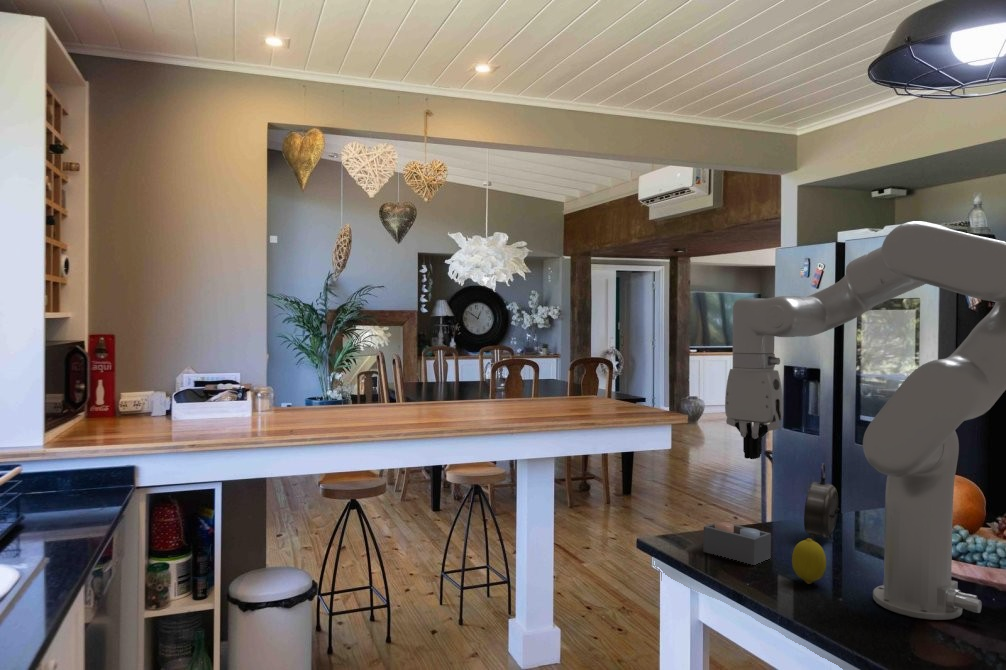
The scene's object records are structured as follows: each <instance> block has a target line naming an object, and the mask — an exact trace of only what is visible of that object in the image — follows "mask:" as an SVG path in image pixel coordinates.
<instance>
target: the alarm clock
mask: <svg viewBox="0 0 1006 670" xmlns="http://www.w3.org/2000/svg"><path fill="white" fill-rule="evenodd" d="M820 467H821V471H820V475H821V477H820V482H817V481H813V482H812V483H811V484H810V486H809V487H808V489H807V493H806V499H805V504H804V513H803V515H804V516H803V526H804V527H803V528H804V531H805V533H806V534H807V535H810V536H811V537H810V539H812V540H813V541H815V539H816V537H820V538H824V539H826V538H829V539H830V541H831V542H832V543H834V542H835V541H834V539H833V537H832V535H833V532H834V530H835V528H836V524H837V518H838V514H839V513H838V512H839V511H840V508H839V495H838V491H837V488H836V487H835V486H834V485H833V484H829V483H826V464H825V463H823V462H822V463H821V466H820Z"/></svg>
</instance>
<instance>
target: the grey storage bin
mask: <svg viewBox="0 0 1006 670" xmlns="http://www.w3.org/2000/svg"><path fill="white" fill-rule="evenodd" d="M719 522H723V521H722V520H720V521H719ZM715 523H716V522H715ZM715 523H710V524H707V525H705V526H703V553H707V554H710V555H713V554H714V556H717V555H718V557H720V556H722V557H721V558H724V557H726V558H725V559H727V558H729V559H728V560H731V559H733V560H732V561H734V560H737V561H736V562H738V561H740V562H739V563H741V562H744V563H743V564H745V563H747V564H746V565H748V564H751V565H750V566H752V565H756V564H758V563H760V564H762V563H761V562H763V561H765V560H768V559H770V558H772V557H771V556H772V533H771V532H766V531H763V530H759V531H760V536H759V537H756V538H752V537H748V536H744V535H740V529H742V528H748V527H746V526H742V525H738V524H735V523H732V524H733V525H734V533H732V532H728V531H724V530H720V529H716V528H715ZM770 560H771V559H770ZM768 561H769V560H768ZM765 562H766V561H765ZM763 563H764V562H763ZM758 565H759V564H758ZM756 566H757V565H756Z"/></svg>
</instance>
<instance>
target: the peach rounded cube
mask: <svg viewBox="0 0 1006 670" xmlns="http://www.w3.org/2000/svg"><path fill="white" fill-rule="evenodd" d="M733 524H734V523H732V522H727V521H722V522H720V521H716V522H715V528H716V529H720V530H724V531H728V532H732V533H734V525H735V524H734V525H733Z"/></svg>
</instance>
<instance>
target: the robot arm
mask: <svg viewBox="0 0 1006 670" xmlns="http://www.w3.org/2000/svg"><path fill="white" fill-rule="evenodd" d="M924 285H929V286H932V287H936V288H941V289H943V290H946V291H949V292H954V293H955V294H956V293H957V294H960V295H963V296H967V297H970V298H974V299H978V300H982V301H988V302H995V303H994V306H993V307H992V309H991V310H990V311H989V312H988V313H987V314H986V316H984V318H982V319H981V320H980V321H979V322H978V323H977V324H976V325H975V327H973V329H971V331H970V333H969V334H968V336H966V338H965V339H964V340H963V341H962V342H961V344H959V346H958V347H957V348H956V349H955V350H954V351H953V352H952V353H951V354H950V355H949V356H948V357H946V358H940V359H934V360H930V361H928V362H926V363H923V364H922V365H920V366H918V367H917V368H916V369H915V370H913V371H912V372H911V373H910V374H909V375H908V376H907V377H906V378H905V379H904V380H903V382H902V383H901V384H900V385H899V386H898V388H897V389H896V391H894V393H893V394H892V396H890V398H889V399H888V400H887V401H886V403H885V404H884V405H883V406H882V408H880V410H879V412H877V414H876V415H875V416H874V417H873V419H872V420H871V422H870V423H869V424H868V426H867V427H866V430H865V432H864V434H863V438H862V450H863V453H864V457H865V458H866V460H867V462H868V463H869V465H870V466H871V467H872V468H874V469H875V470H876V471H877V472H879V473H880V474H883V475H886V477H887V478H886V485H885V493H884V494H885V495H884V496H885V497H884V498H885V499H884V540H883V541H884V546H883V547H884V549H883V550H884V551H883V556H884V558H883V584H882V585H879V586H877V587H874V589H873V590H872V599H873V601H874V602H875V603H876V604H878V605H879V606H880V607H882V608H884V609H886V610H888V611H891V612H894V613H896V614H899V615H902V616H906V617H911V618H916V619H922V620H930V621H945V620H953V619H956V618H959V617H961V615H962V614H963V609H965V610H967V611H969V612H972V613H978V614H980V613H981V611H982V608H983V607H982V606H983V605H982V604H983V603H982V601H981V600H980V599H978V595H975V594H971V593H965V592H962V591H961V590H960V589H959V588H958V587H959V586H958V584H959V583H958V581H956V580H952V566H953V565H952V564H953V563H952V561H953V560H952V559H953V558H952V557H953V517H954V516H953V515H954V493H955V492H954V489H955V479H956V473H957V467H958V466H957V465H958V460H959V455H960V454H959V453H960V452H959V451H960V443H959V437H958V434H957V431H956V430H957V429H958V428H959V427H960V426H961V424H962V423H963V422H964V421H969V420H973V419H976V418H978V417H981V416H983V415H985V414H986V413H987V412H989V410H991V408H992V407H993V406H994V405H995V403H996V402H997V401H998V400H999V399H1000V397H1001V396H1002V395H1003V393H1005V391H1006V241H1004V240H998V239H994V238H991V237H990V238H989V237H985V236H979V235H977V234H976V235H975V234H971V233H969V232H968V233H966V232H963V231H960V230H959V231H957V230H954V229H951V228H949V227H947V226H945V225H941V224H937V223H932V222H929V221H928V222H927V221H920V220H916V221H915V220H913V221H907V222H904V223H901V224H900V225H898V226H896V227H895V228H893V229H892V230H890V231H889V233H888V234H887V235H886V237H885V238H884V240H883V242H882V245H881V246H879V247H878V248H876V249H874V250H872V251H869V252H868V253H866V254H864V255H861V256H859V257H857V258H854V259H853V260H850V262H849V263H848V264H847V265H846V267H845V275H844V276H843V277H842V278H841V279H840V280H839V281H837V282H836V283H833V284H832V285H829V286H827V287H826V288H823V289H822V290H820V291H817V292H815V293H812V294H810V295H808V296H801V295H800V296H798V295H793V296H791V295H780V296H779V295H778V296H774V297H769V298H761V297H760V298H758V297H757V298H756V297H754V298H752V297H751V298H739V299H736V300H735V302H733V305H732V368H730V369H729V372H728V376H727V380H726V389H725V400H724V403H725V404H724V410H725V416H726V421H725V422H726V425H729V426H731V427H735V428H736V429H737V431H738V432H739V433H740V436H741V437H742V440H743V441H742V442H743V443H742V444H743V446H742V447H743V455H744V459H750V460H756V459H760V458H761V456H762V453H763V438H764V437H765V436H766V434H767V433H769V431H777V430H780V429H781V427H782V426H781V423H780V422H781V421H782V420H783V419H784V399H783V388H782V382H781V377H780V373H779V370H778V369H777V370H776V369H775V366H776V365H780V363H781V359H780V357H776V356H775V337H778V338H795V337H803V338H804V337H813V336H816V335H820V334H822V333H825V332H827V331H830V330H833V329H835V328H837V327H839V326H843V325H844V324H846V323H848V322H850V321H853V320H854V319H856V318H859V317H860V316H861V315H863V314H865V313H866V312H869V311H870V310H871V309H873V308H874V307H876V306H877V305H880V304H882V303H885V302H887V301H889V300H892V299H894V298H896V297H899V296H902V295H903V294H906V293H908V292H910V291H913V290H915V289H917V288H920V287H922V286H924Z"/></svg>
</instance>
